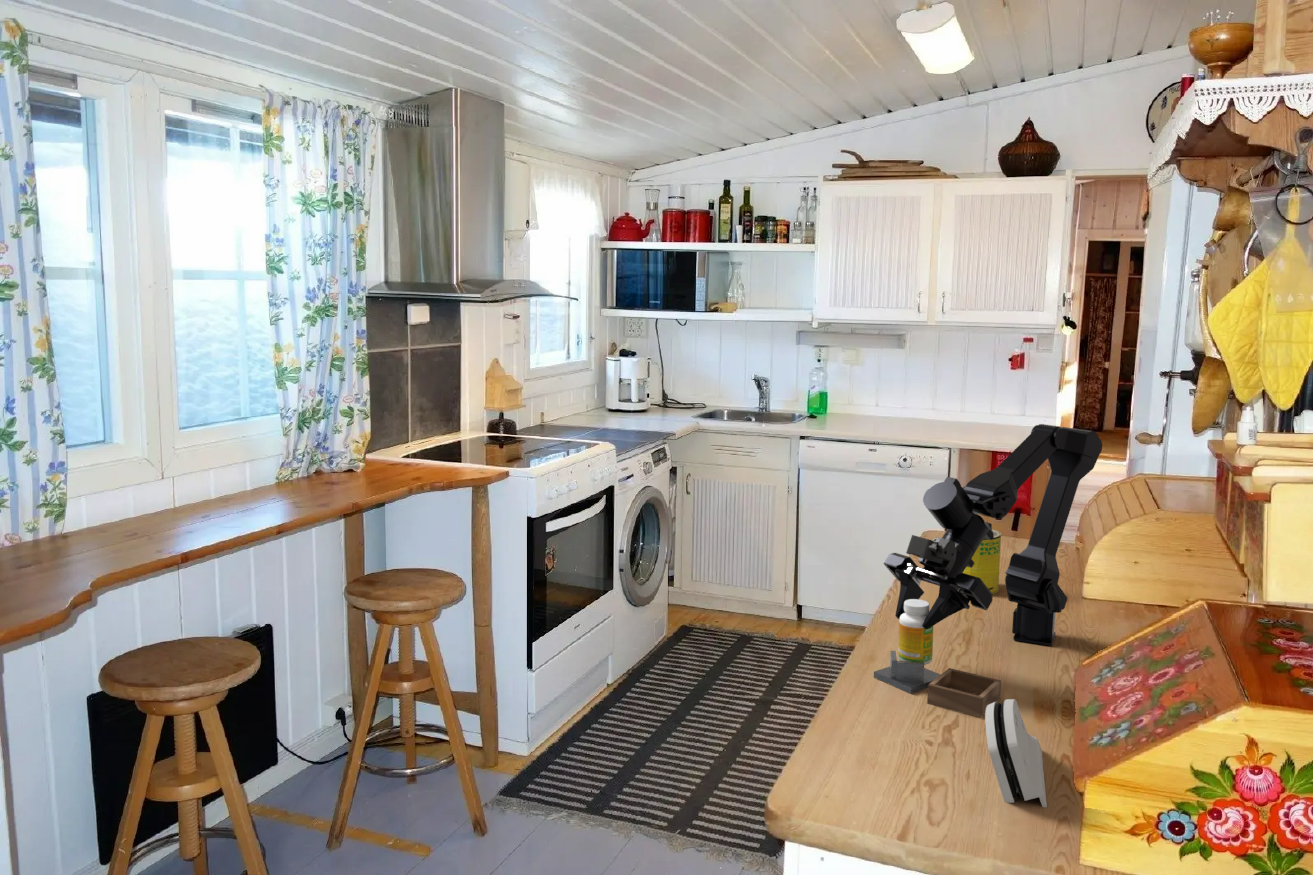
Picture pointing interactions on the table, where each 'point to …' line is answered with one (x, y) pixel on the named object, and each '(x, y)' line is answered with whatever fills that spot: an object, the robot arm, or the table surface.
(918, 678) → the v-block
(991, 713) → the white black-striped casing block
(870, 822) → the table surface
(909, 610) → the supplement bottle
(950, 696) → the block
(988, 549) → the beverage can
